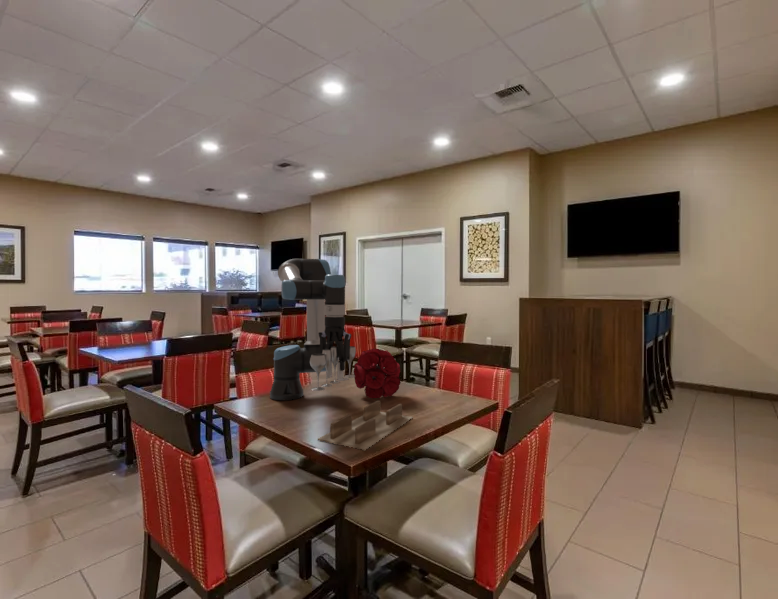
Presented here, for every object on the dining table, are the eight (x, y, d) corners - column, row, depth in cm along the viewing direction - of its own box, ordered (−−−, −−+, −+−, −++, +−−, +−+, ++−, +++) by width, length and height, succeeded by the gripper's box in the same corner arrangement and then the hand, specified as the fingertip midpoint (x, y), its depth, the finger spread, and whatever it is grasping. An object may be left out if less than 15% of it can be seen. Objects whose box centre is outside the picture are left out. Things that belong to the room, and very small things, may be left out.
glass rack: (317, 440, 133) (317, 423, 133) (372, 411, 165) (372, 398, 165) (364, 450, 125) (365, 432, 125) (412, 418, 157) (412, 404, 157)
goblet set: (346, 374, 166) (346, 342, 166) (358, 376, 164) (359, 343, 164) (306, 390, 140) (306, 351, 140) (320, 391, 138) (320, 352, 138)
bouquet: (352, 405, 199) (350, 387, 172) (357, 359, 210) (355, 336, 184) (396, 408, 199) (401, 391, 173) (398, 362, 210) (403, 340, 184)
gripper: (309, 315, 152) (309, 377, 153) (349, 317, 144) (348, 383, 145) (322, 314, 159) (321, 374, 159) (360, 316, 151) (359, 379, 151)
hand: (334, 378), depth 152 cm, fingers closed on goblet set, 4 cm apart
